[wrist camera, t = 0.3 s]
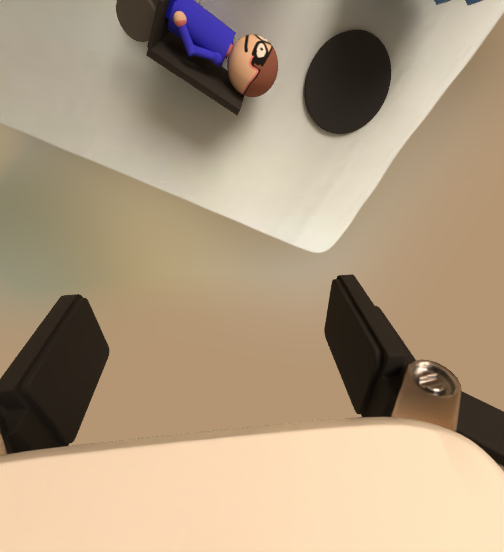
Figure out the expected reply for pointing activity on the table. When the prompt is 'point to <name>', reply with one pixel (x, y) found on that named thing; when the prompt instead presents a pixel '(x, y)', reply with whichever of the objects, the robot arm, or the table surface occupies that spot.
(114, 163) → the table surface
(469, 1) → the grapes
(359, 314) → the robot arm
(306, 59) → the table surface
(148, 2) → the character figurine
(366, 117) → the coaster
